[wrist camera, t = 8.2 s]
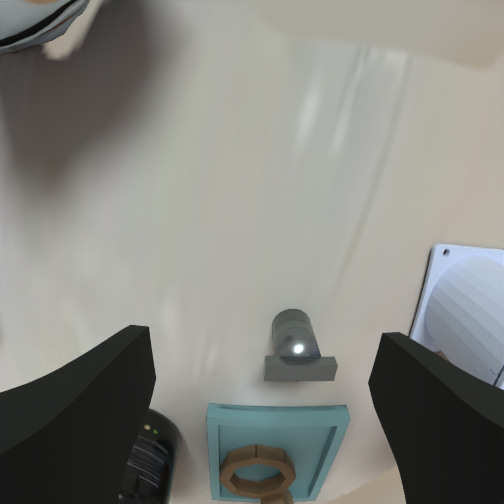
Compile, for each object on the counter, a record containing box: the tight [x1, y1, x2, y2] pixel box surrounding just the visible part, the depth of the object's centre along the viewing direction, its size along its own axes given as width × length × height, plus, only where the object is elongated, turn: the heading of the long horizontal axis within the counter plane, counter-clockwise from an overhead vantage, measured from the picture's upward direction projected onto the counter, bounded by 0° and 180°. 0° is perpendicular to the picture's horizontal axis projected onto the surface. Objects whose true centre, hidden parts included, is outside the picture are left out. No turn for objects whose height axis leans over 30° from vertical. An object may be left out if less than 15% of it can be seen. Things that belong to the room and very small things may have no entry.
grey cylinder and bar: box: [264, 309, 338, 381], centre depth 17 cm, size 4×2×5 cm, turn 87°
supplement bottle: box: [118, 408, 180, 504], centre depth 17 cm, size 7×7×12 cm
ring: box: [219, 444, 296, 504], centre depth 21 cm, size 9×6×5 cm, turn 25°
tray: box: [207, 403, 350, 502], centre depth 23 cm, size 10×14×2 cm
